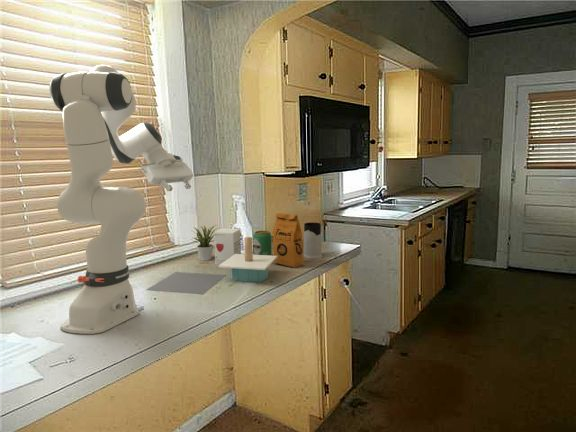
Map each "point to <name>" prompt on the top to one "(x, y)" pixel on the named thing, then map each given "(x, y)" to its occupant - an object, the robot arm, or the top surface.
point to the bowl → (249, 274)
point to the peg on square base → (248, 259)
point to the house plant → (204, 244)
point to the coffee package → (288, 240)
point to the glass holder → (312, 240)
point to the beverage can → (262, 243)
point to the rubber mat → (187, 283)
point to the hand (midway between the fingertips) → (180, 189)
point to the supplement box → (226, 244)
